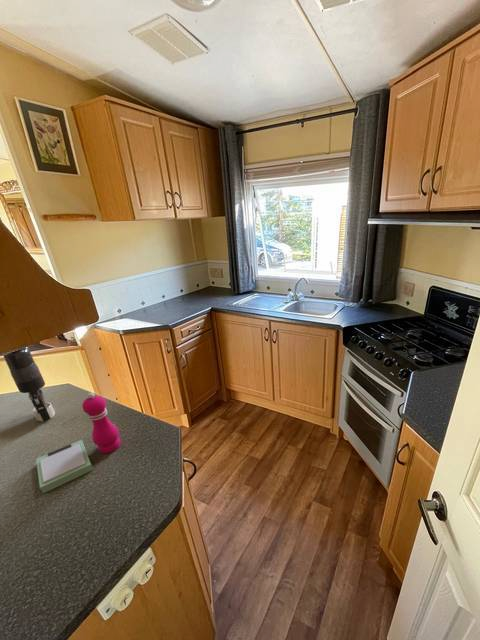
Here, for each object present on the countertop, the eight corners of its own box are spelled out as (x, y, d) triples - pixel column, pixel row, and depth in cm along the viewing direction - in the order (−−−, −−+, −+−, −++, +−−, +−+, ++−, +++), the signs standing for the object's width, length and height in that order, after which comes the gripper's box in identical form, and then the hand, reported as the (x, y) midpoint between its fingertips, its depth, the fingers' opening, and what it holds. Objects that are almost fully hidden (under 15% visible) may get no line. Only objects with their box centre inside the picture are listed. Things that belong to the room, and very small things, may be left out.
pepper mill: (102, 458, 87) (80, 403, 79) (93, 447, 92) (72, 394, 83) (126, 445, 92) (107, 391, 83) (117, 435, 97) (98, 384, 88)
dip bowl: (33, 422, 106) (28, 412, 104) (43, 413, 111) (38, 403, 109) (50, 420, 106) (45, 410, 104) (58, 411, 111) (54, 401, 109)
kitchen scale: (38, 464, 87) (35, 457, 85) (84, 445, 93) (81, 438, 92) (43, 493, 77) (38, 486, 75) (93, 469, 83) (90, 462, 82)
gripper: (13, 373, 104) (32, 411, 111) (14, 388, 94) (35, 429, 101) (38, 366, 108) (55, 403, 116) (42, 379, 98) (60, 420, 105)
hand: (46, 415), depth 108 cm, fingers closed on dip bowl, 6 cm apart
